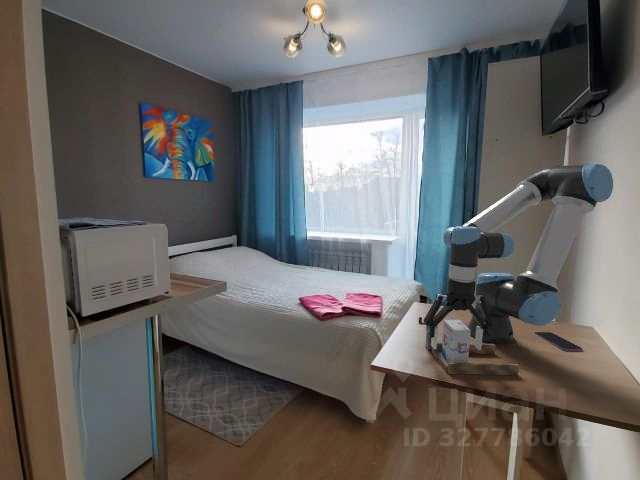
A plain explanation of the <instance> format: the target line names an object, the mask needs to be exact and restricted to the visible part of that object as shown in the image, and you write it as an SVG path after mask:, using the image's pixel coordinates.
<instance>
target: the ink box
mask: <svg viewBox="0 0 640 480" xmlns="http://www.w3.org/2000/svg"><path fill="white" fill-rule="evenodd" d="M470 332H471V331H470V329H469V328H468V325H467V326H466V324H465V323H463V321H462V320H460V319H443V327H442V342H441V343H442V356H443V357H444V358H445V360H446V361H447V362H450V363H469V358H470V357H469V354H470V353H469V344H471V342H470V341H471V335H470Z"/></svg>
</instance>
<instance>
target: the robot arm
mask: <svg viewBox="0 0 640 480" xmlns="http://www.w3.org/2000/svg"><path fill="white" fill-rule="evenodd" d="M613 190H614V179H613V175H612V172H611V170H610V169H609V168H608V166H605V165H604V164H602V163H585V164H569V165H568V164H567V165H554V166H553V165H552V166H550V167H546V168H543V169H541V170H539V171H537V172H535V173H533V174H531V175H530V176H528V177H526V178H525V179H523V180H521V181H520V182H519V183H517V185H516V186H515V189H513V190H512V191H511V192H509V193H508V194H506V195H505V196H503V197H502V198H501V199H499V200H498V201H496V202H495V203H493V204H492V205H490V206H489V207H487V208H485V209H484V210H483V211H482V212H480V213H478V214H477V215H476V216H474V217H472V218H471V219H470V220H468V221H467V222H465V223H464V224H462V225H455V226H451V227H448V228H447V229H446V230H445V231H444V233H443V242H444V245H445V246H446V247H447V248H449V249H450V253H449V266H448V277H449V278H448V279H447V286H446V287H447V288H446V289H447V292H446V294H444V295H443V294H440V293H435V297H434V298H435V299H434V301H433V303H432V305H431V307H430V308H429V310H428V312H427V313H426V315H425V317H424V318H423V319H422V322H424V323H425V324H426V325H427V326H429V336H430V337H431V346H432V347H433V349H437V343H438V336H439V327H438V328H437V327H436V326H437V325H438V326H439V324H440V323H441V322H442V321H444V320H445V318H446V317H447V316H448V315H449V313H452V312H453V311H463V312H465V311H468V312H469V313H470V315H471V317H470V319H469V322H467V323H468V324H467V327H468V328H469V329H470V331H471V332H470V337H473V338H474V344H475V347H476V348H477V349H478V350H481V347H482V344H483V341H484V342H487V343H490V344H499V345H500V344H509V343H510V344H511V343H512V342H513V341H514V335H515V334H514V329H513V326H512V320H511V317H512V318H514V319H517V320H519V321H521V322H523V323H525V324H530V325H532V326H536V327H543V326H546V325H547V324H550V323H551V322H553V321H554V319H556V318H557V316H558V315H559V313H560V311H561V309H562V308H561V307H562V304H561V303H562V299H561V296H559V294H558V292H559V287H558V286H557V283H556V281H557V280H558V278H559V275H560V273H561V270H562V269H563V266H564V264H565V261H566V259H567V257H568V255H569V252H570V249H571V248H572V246H573V243H574V241H575V239H576V236H577V234H578V232H579V229H580V227H581V225H582V223H583V220H584V218H585V216H586V214H588V213H590V212H593V211H594V210H595V208H596V205H597V204H598V203H602V202H606V201H607V200H609V198H610V197H611V196H612V193H613ZM546 201H551V202H552V204H553V205H554V206H553V209H552V211H551V213H550V215H549V216H548V217H549V218H548V220H547V222H546V224H545V227H544V230H543V231H542V234H541V235H540V239H539V241H538V243H537V244H536V247H535V249H534V251H533V254H532V256H531V258H530V261H529V263H528V265H527V267H526V270H525V271H524V272H522V273H519V274H517V276H516V277H517V278H515V275H514V274H512V273H507V272H481V273H480V274H479V275H478V276H477V273H478V264H479V260H480V259H481V260H482V259H483V260H484V259H502V258H503V259H504V258H507V257H510V255H512V254H513V252H514V249H515V242H514V239H513V237H512V236H511V235H510V234H509V233H505V232H504V233H503V232H495V231H496V230H498V229H499V228H501V227H502V226H504V225H505V224H507V223H508V222H509V221H511V220H512V219H513V218H515V217H517V216H518V215H519V214H521V213H523V212H524V211H525V210H526V209H528V208H530V207H533V206H534V207H535V206H537V205H539V204H540V203H541V202H546ZM445 301H446V302H445ZM444 302H445V304H444V305H443V303H444ZM473 304H474V306H473ZM442 305H443V307H442V308H441V306H442ZM440 308H441V309H440ZM439 309H440V310H439ZM426 325H425V326H426Z"/></svg>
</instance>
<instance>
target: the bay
mask: <svg viewBox="0 0 640 480" xmlns="http://www.w3.org/2000/svg"><path fill="white" fill-rule="evenodd" d="M417 322H418V324H419V325H421V326H425V332H426V336H425V348H426V350H427V351H431V353H432V355H433V356H434V357H435V359H436V361H437V362H438V363H439V365H440V366H441V368H442V369H443V371H444V372H445V373H447V374H448V375H450V374H451V375H488V376H490V375H494V376H519V369H520V364H518V363H497V362H496V363H492V362H490V363H489V362H486V363H485V362H468V363H450V362H447V361H446V360H445V358H444V357H443V356H442V342H437V349H433V347H432V346H431V337H430V336H429V326H427V325H426V324H425V323H424V321H423V317H421V316H418V321H417ZM436 327H437V328H438V329H439V324H438V325H437V326H436ZM496 346H497V345H496V343H482V347H481V350H478V349H477V348H476V347H475V343H470V344H469V354H482V355H484V354H485V355H488V354H489V355H495V354H496Z"/></svg>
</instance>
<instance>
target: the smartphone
mask: <svg viewBox="0 0 640 480" xmlns="http://www.w3.org/2000/svg"><path fill="white" fill-rule="evenodd" d="M533 333H535V335H536V336H537V335H538V336H537V337H539V338H541V339H543V340H545V341H546V342H547V343H549V344H550V345H552V346H554V347H556V348H557V349H559V350H560V351H564V352H583V348H582V347H581V346H579V345H577V344H575V343H573V342H571V341H569V340H567V339H566V338H564V337H561V336H559V335H558V334H555V333H554V332H552V331H535V332H533Z"/></svg>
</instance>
